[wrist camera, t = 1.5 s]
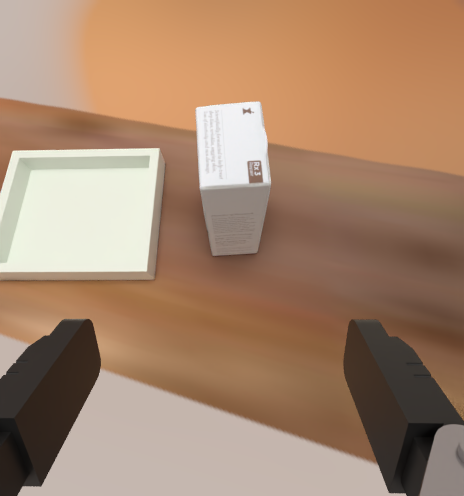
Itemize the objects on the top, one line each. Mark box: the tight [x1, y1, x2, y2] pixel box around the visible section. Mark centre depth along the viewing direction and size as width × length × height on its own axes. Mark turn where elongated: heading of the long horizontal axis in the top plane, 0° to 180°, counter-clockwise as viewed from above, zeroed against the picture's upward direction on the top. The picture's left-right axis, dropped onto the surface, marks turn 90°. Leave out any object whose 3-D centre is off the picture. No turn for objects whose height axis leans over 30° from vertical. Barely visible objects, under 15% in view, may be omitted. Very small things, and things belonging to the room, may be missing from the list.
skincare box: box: [195, 102, 271, 256], centre depth 25 cm, size 6×4×12 cm
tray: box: [0, 148, 165, 280], centre depth 30 cm, size 14×12×2 cm
